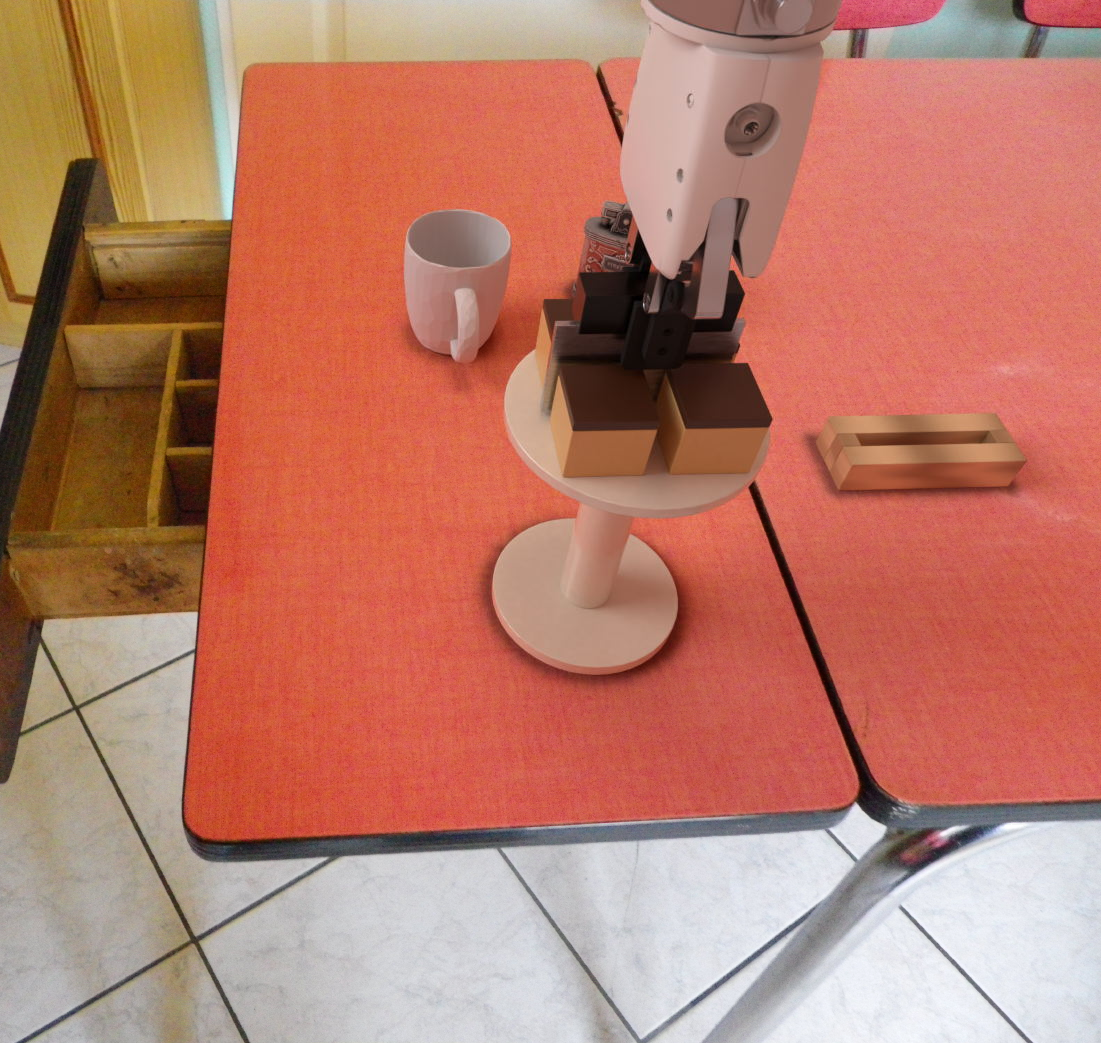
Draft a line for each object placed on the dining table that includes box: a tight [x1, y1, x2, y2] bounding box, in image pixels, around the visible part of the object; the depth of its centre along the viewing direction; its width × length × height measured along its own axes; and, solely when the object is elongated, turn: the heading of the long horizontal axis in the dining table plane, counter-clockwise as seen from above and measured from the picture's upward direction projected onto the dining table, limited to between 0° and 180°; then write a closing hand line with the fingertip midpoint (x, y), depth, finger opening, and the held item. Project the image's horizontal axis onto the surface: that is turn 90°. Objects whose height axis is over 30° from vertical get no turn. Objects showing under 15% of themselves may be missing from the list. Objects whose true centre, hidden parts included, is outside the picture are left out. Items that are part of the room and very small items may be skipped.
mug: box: [403, 208, 513, 364], centre depth 82 cm, size 13×9×10 cm
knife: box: [540, 269, 747, 411], centre depth 51 cm, size 10×2×8 cm, turn 93°
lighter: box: [571, 200, 634, 298], centre depth 87 cm, size 8×3×10 cm, turn 67°
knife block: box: [815, 412, 1028, 491], centre depth 76 cm, size 14×5×3 cm, turn 93°
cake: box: [534, 298, 774, 477], centre depth 53 cm, size 10×10×4 cm
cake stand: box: [491, 348, 771, 676], centre depth 61 cm, size 15×15×18 cm
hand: (644, 346), depth 51 cm, fingers closed on knife, 2 cm apart
